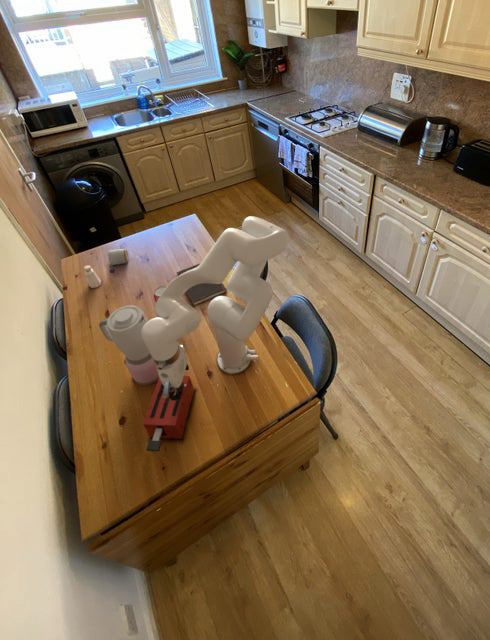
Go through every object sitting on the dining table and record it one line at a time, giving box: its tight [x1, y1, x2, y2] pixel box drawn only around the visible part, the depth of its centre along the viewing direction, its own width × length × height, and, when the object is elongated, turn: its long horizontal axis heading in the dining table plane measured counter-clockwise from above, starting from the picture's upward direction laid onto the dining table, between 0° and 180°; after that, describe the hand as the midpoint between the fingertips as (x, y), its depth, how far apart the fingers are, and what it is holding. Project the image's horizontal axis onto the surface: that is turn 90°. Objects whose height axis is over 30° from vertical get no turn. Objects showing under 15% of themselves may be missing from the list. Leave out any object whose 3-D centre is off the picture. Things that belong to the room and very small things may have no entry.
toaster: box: [142, 374, 196, 441], centre depth 111 cm, size 10×16×10 cm, turn 177°
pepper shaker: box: [83, 264, 102, 289], centre depth 160 cm, size 5×5×11 cm
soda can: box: [153, 285, 167, 304], centre depth 146 cm, size 7×7×12 cm
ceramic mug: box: [107, 248, 130, 266], centre depth 175 cm, size 11×8×8 cm
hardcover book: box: [176, 263, 228, 307], centre depth 161 cm, size 16×23×2 cm
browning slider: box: [177, 382, 184, 392], centre depth 109 cm, size 2×2×4 cm
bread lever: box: [145, 428, 163, 452], centre depth 100 cm, size 4×6×1 cm, turn 178°
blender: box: [98, 304, 159, 386], centre depth 117 cm, size 16×12×32 cm
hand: (180, 383), depth 109 cm, fingers open, 9 cm apart
